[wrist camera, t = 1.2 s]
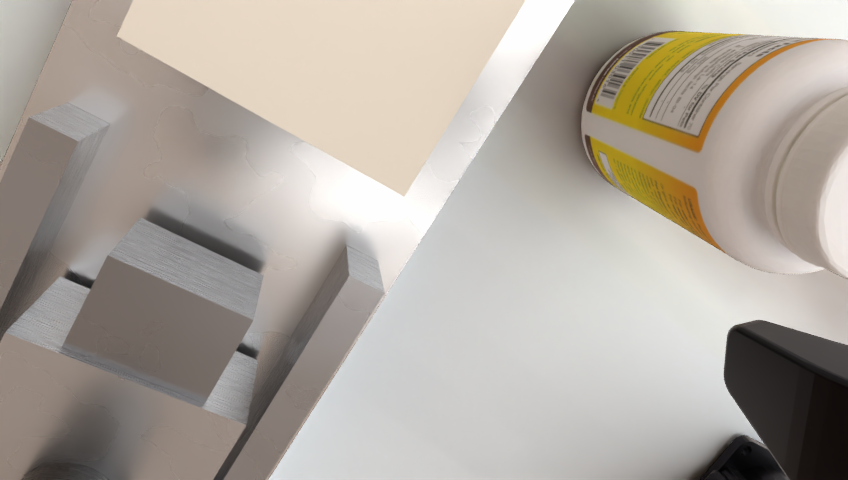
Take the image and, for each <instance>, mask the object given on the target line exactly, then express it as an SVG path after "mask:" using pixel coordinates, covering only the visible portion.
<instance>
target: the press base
mask: <svg viewBox="0 0 848 480" xmlns="http://www.w3.org/2000/svg"><path fill="white" fill-rule="evenodd" d="M574 1H575V0H526V1H525V3H524V4H523V6H522V8H521V9H520V11H519V12H518V14H517V16H516V17H515V19H514V21H513V22H512V24H511V25H510V27H509V29H508V30H507V32H506V33H505V35H504V37H503V38H502V40H501V42H500V43H499V45H498V46H497V48H496V50H495V51H494V53H493V54H492V56H491V58H490V59H489V61H488V62H487V64H486V66H485V67H484V69H483V71H482V72H481V74H480V75H479V77H478V79H477V80H476V82H475V83H474V85H473V87H472V88H471V90H470V92H469V93H468V95H467V96H466V98H465V100H464V101H463V103H462V104H461V106H460V108H459V109H458V111H457V113H456V114H455V116H454V117H453V119H452V121H451V122H450V124H449V125H448V127H447V129H446V130H445V132H444V133H443V135H442V137H441V138H440V140H439V142H438V143H437V145H436V146H435V148H434V150H433V151H432V153H431V154H430V156H429V158H428V159H427V161H426V163H425V164H424V166H423V167H422V169H421V171H420V172H419V174H418V175H417V177H416V179H415V180H414V182H413V184H412V185H411V187H410V188H409V190H408V192H407V193H406V195H405V196H402V195H400V194H398V193H397V192H395V191H393V190H391V189H389V188H388V187H386V186H384V185H382V184H381V183H379V182H377V181H375V180H373V179H372V178H370V177H368V176H366V175H364V174H363V173H361V172H359V171H357V170H355V169H354V168H352V167H350V166H348V165H346V164H345V163H343V162H341V161H339V160H338V159H336V158H334V157H332V156H330V155H329V154H327V153H325V152H323V151H321V150H320V149H318V148H316V147H314V146H312V145H311V144H309V143H307V142H305V141H303V140H302V139H300V138H298V137H296V136H295V135H293V134H291V133H289V132H287V131H286V130H284V129H282V128H280V127H278V126H277V125H275V124H273V123H271V122H269V121H268V120H266V119H264V118H262V117H260V116H259V115H257V114H255V113H253V112H251V111H250V110H248V109H246V108H244V107H243V106H241V105H239V104H237V103H235V102H234V101H232V100H230V99H228V98H226V97H225V96H223V95H221V94H219V93H217V92H216V91H214V90H212V89H210V88H208V87H207V86H205V85H203V84H201V83H200V82H198V81H196V80H194V79H192V78H191V77H189V76H187V75H185V74H183V73H182V72H180V71H178V70H176V69H174V68H173V67H171V66H169V65H167V64H165V63H164V62H162V61H160V60H158V59H157V58H155V57H153V56H151V55H149V54H148V53H146V52H144V51H142V50H140V49H139V48H137V47H135V46H133V45H131V44H130V43H128V42H126V41H124V40H122V39H121V38H119V37H117V34H118V32H119V30H120V28H121V26H122V24H123V21H124V19H125V17H126V15H127V13H128V10H129V8H130V6H131V4H132V2H133V0H72V2H71V5H70V7H69V9H68V12H67V14H66V16H65V18H64V21H63V23H62V25H61V28H60V30H59V32H58V35H57V37H56V39H55V41H54V44H53V46H52V48H51V51H50V53H49V55H48V58H47V60H46V62H45V65H44V67H43V69H42V71H41V74H40V76H39V78H38V81H37V83H36V85H35V88H34V90H33V92H32V94H31V97H30V99H29V101H28V104H27V106H26V108H25V111H24V113H23V115H22V117H21V120H20V122H19V124H18V127H17V129H16V131H15V134H14V136H13V138H12V141H11V143H10V145H9V147H8V150H7V152H6V154H5V157H4V159H3V161H2V164H1V166H0V342H1V340H2V338H3V336H4V334H5V332H6V331H7V330H8V329H9V328H10V327H11V326H12V325H13V324H14V323H15V322H16V321H17V320H18V319H19V318H20V317H21V316H22V315H23V314H24V313H25V312H26V311H27V310H28V309H29V308H30V307H31V305H32V304H33V303H34V302H35V301H36V300H37V299H38V298H39V297H40V296H41V295H42V294H43V293H44V292H45V291H46V290H47V289H48V288H49V287H50V286H51V285H52V284H53V283H54V282H55V281H56V280H57V279H58V278H59V277H63V278H65V279H68V280H70V281H72V282H75V283H77V284H79V285H82V286H84V287H86V288H89V289H91V287H92V285H93V283H94V281H95V279H96V277H97V275H98V273H99V271H100V269H101V267H102V265H103V263H104V261H105V259H106V257H107V255H108V254H109V253H110V252H111V251H112V250H113V248H114V247H115V246H116V245H117V244H118V243H119V242H120V240H121V239H122V238H123V237H124V236H125V235H126V234H127V232H128V231H129V230H130V229H131V228H132V227H133V226H134V224H135V223H136V222H137V221H138V220H139V219H140V217H141V218H143V219H145V220H147V221H149V222H151V223H153V224H155V225H158V226H160V227H162V228H164V229H166V230H168V231H170V232H172V233H174V234H177V235H179V236H181V237H183V238H185V239H187V240H189V241H191V242H194V243H196V244H198V245H200V246H202V247H204V248H206V249H208V250H211V251H213V252H215V253H217V254H219V255H221V256H223V257H225V258H228V259H230V260H232V261H234V262H236V263H238V264H240V265H242V266H245V267H247V268H249V269H251V270H253V271H255V272H257V273H259V274H262V275H264V276H263V281H262V285H261V290H260V294H259V299H258V303H257V308H256V312H255V316H254V320H253V322H252V324H251V326H250V327H249V329H248V331H247V332H246V334H245V336H244V338H243V339H242V341H241V343H240V344H239V346H238V348H237V349H236V351H238V352H240V353H242V354H245V355H247V356H250V357H252V358H254V359H257V360H258V365H257V370H256V376H255V381H254V387H253V392H252V397H251V403H250V408H249V413H248V419H247V424H246V427H245V428H244V430H243V432H242V433H241V435H240V436H239V438H238V440H237V441H236V443H235V445H234V446H233V448H232V450H231V451H230V453H229V454H228V456H227V458H226V459H225V461H224V463H223V464H222V466H221V468H220V469H219V471H218V472H217V474H216V476H215V477H214V479H213V480H268V479H269V478H270V476H271V474H272V473H273V471H274V470H275V468H276V467H277V465H278V464H279V462H280V460H281V459H282V457H283V456H284V454H285V453H286V451H287V449H288V448H289V446H290V445H291V443H292V442H293V440H294V439H295V437H296V435H297V434H298V432H299V431H300V429H301V428H302V426H303V424H304V423H305V421H306V420H307V418H308V417H309V415H310V413H311V412H312V410H313V409H314V407H315V406H316V404H317V403H318V401H319V399H320V398H321V396H322V395H323V393H324V392H325V390H326V388H327V387H328V385H329V384H330V382H331V381H332V379H333V378H334V376H335V374H336V373H337V371H338V370H339V368H340V367H341V365H342V363H343V362H344V360H345V359H346V357H347V356H348V354H349V353H350V351H351V349H352V348H353V346H354V345H355V343H356V342H357V340H358V338H359V337H360V335H361V334H362V332H363V331H364V329H365V327H366V326H367V324H368V323H369V321H370V320H371V318H372V317H373V315H374V313H375V312H376V310H377V309H378V307H379V306H380V304H381V302H382V301H383V299H384V298H385V296H386V295H387V293H388V292H389V290H390V288H391V287H392V285H393V284H394V282H395V281H396V279H397V277H398V276H399V274H400V273H401V271H402V270H403V268H404V266H405V265H406V263H407V262H408V260H409V259H410V257H411V256H412V254H413V252H414V251H415V249H416V248H417V246H418V245H419V243H420V241H421V240H422V238H423V237H424V235H425V234H426V232H427V231H428V229H429V227H430V226H431V224H432V223H433V221H434V220H435V218H436V216H437V215H438V213H439V212H440V210H441V209H442V207H443V206H444V204H445V202H446V201H447V199H448V198H449V196H450V195H451V193H452V191H453V190H454V188H455V187H456V185H457V184H458V182H459V180H460V179H461V177H462V176H463V174H464V173H465V171H466V170H467V168H468V166H469V165H470V163H471V162H472V160H473V159H474V157H475V155H476V154H477V152H478V151H479V149H480V148H481V146H482V145H483V143H484V141H485V140H486V138H487V137H488V135H489V134H490V132H491V130H492V129H493V127H494V126H495V124H496V123H497V121H498V120H499V118H500V116H501V115H502V113H503V112H504V110H505V109H506V107H507V105H508V104H509V102H510V101H511V99H512V98H513V96H514V94H515V93H516V91H517V90H518V88H519V87H520V85H521V84H522V82H523V80H524V79H525V77H526V76H527V74H528V73H529V71H530V69H531V68H532V66H533V65H534V63H535V62H536V60H537V59H538V57H539V55H540V54H541V52H542V51H543V49H544V48H545V46H546V44H547V43H548V41H549V40H550V38H551V37H552V35H553V34H554V32H555V30H556V29H557V27H558V26H559V24H560V23H561V21H562V19H563V18H564V16H565V15H566V13H567V12H568V10H569V8H570V7H571V5H572V4H573V2H574Z"/></svg>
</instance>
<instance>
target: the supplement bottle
mask: <svg viewBox="0 0 848 480" xmlns="http://www.w3.org/2000/svg"><path fill="white" fill-rule="evenodd" d="M581 130H582V139H583V144H584V147H585V150H586V153H587V155H588V158H589V160H590V162H591V163H592V165H593V166H594V168H595V169H596V171H597V172H598V173H599V174H600V175H601V176H602V177H603V178H604V179H605V180H606V181H607V182H609V183H610V184H611V185H613V186H614V187H616V188H617V189H619V190H621V191H622V192H624V193H626V194H627V195H629V196H631V197H633V198H634V199H636V200H638V201H639V202H641V203H643V204H644V205H646V206H648V207H649V208H651V209H653V210H654V211H656V212H658V213H659V214H661V215H663V216H664V217H666V218H668V219H669V220H671V221H673V222H674V223H676V224H678V225H679V226H681V227H683V228H684V229H686V230H688V231H689V232H691V233H693V234H694V235H696V236H698V237H700V238H701V239H703V240H704V241H706V242H708V243H709V244H711V245H713V246H714V247H716V248H718V249H719V250H721V251H723V252H724V253H726V254H727V255H729V256H731V257H732V258H734V259H736V260H737V261H740V262H741V263H743V264H745V265H747V266H750V267H752V268H754V269H757V270H761V271H764V272H768V273H774V274H788V275H793V274H806V273H811V272H816V271H820V270H824V269H827V270H829V271H831V272H833V273H835V274H837V275H839V276H841V277H843V278H846V279H848V41H847V40H841V39H819V38H798V37H779V36H762V35H744V34H722V33H703V32H685V31H668V32H659V33H654V34H650V35H647V36H644V37H641V38H639V39H637V40H635V41H633V42H631V43H629V44H627V45H626V46H624V47H623V48H621V49H620V50H619V51H618V52H616V53H615V54H614V55H613V56H612V57H611V58H610V59H609V60H608V61H607V62H606V63H605V64H604V65H603V67H602V68H601V69H600V71H599V72H598V73H597V75H596V76H595V78H594V80H593V82H592V84H591V86H590V88H589V90H588V93H587V95H586V98H585V102H584V106H583V111H582V120H581Z"/></svg>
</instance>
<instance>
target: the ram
mask: <svg viewBox="0 0 848 480" xmlns="http://www.w3.org/2000/svg"><path fill="white" fill-rule="evenodd" d="M263 276H264V275H262V274H259V273H257V272H255V271H253V270H251V269H249V268H247V267H245V266H242V265H240V264H238V263H236V262H234V261H232V260H230V259H228V258H225V257H223V256H221V255H219V254H217V253H215V252H213V251H211V250H208V249H206V248H204V247H202V246H200V245H198V244H196V243H194V242H191V241H189V240H187V239H185V238H183V237H181V236H179V235H177V234H174V233H172V232H170V231H168V230H166V229H164V228H162V227H160V226H158V225H155V224H153V223H151V222H149V221H147V220H145V219H143V218H141V217H140V219H139V220H138V221H137V222H136V223H135V224H134V226H133V227H132V228H131V229H130V230H129V231H128V232H127V234H126V235H125V236H124V237H123V238H122V239H121V240H120V242H119V243H118V244H117V245H116V246H115V247H114V248H113V250H112V251H111V252H110V253H109V254H108V255H107V257H106V259H105V261H104V263H103V265H102V267H101V269H100V271H99V273H98V275H97V277H96V279H95V281H94V283H93V285H92V287H91V289H89V288H86V287H84V286H82V285H79V284H77V283H75V282H72V281H70V280H68V279H65V278H63V277H59V278H58V279H57V280H56V281H55V282H54V283H53V284H52V285H51V286H50V287H49V288H48V289H47V290H46V291H45V292H44V293H43V294H42V295H41V296H40V297H39V298H38V299H37V300H36V301H35V302H34V303H33V304H32V305H31V307H30V308H29V309H28V310H27V311H26V312H25V313H24V314H23V315H22V316H21V317H20V318H19V319H18V320H17V321H16V322H15V323H14V324H13V325H12V326H11V327H10V328H9V329H8V330H7V331H6V332H5V334H4V336H3V338H2V340H1V342H0V480H213V479H214V477H215V476H216V474H217V472H218V471H219V469H220V468H221V466H222V464H223V463H224V461H225V459H226V458H227V456H228V454H229V453H230V451H231V450H232V448H233V446H234V445H235V443H236V441H237V440H238V438H239V436H240V435H241V433H242V432H243V430H244V428H245V427H246V424H247V419H248V413H249V408H250V403H251V397H252V392H253V387H254V381H255V376H256V370H257V365H258V360H257V359H254V358H252V357H250V356H247V355H245V354H242V353H240V352H238V351H236V349H237V348H238V346H239V344H240V343H241V341H242V339H243V338H244V336H245V334H246V332H247V331H248V329H249V327H250V326H251V324H252V322H253V320H254V316H255V312H256V308H257V303H258V299H259V294H260V290H261V285H262V281H263Z"/></svg>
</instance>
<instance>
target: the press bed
mask: <svg viewBox="0 0 848 480" xmlns="http://www.w3.org/2000/svg"><path fill="white" fill-rule="evenodd" d="M525 1H526V0H133V2H132V4H131V6H130V8H129V10H128V13H127V15H126V17H125V19H124V21H123V24H122V26H121V28H120V30H119V32H118V34H117V37H119V38H121V39H122V40H124V41H126V42H128V43H130V44H131V45H133V46H135V47H137V48H139V49H140V50H142V51H144V52H146V53H148V54H149V55H151V56H153V57H155V58H157V59H158V60H160V61H162V62H164V63H165V64H167V65H169V66H171V67H173V68H174V69H176V70H178V71H180V72H182V73H183V74H185V75H187V76H189V77H191V78H192V79H194V80H196V81H198V82H200V83H201V84H203V85H205V86H207V87H208V88H210V89H212V90H214V91H216V92H217V93H219V94H221V95H223V96H225V97H226V98H228V99H230V100H232V101H234V102H235V103H237V104H239V105H241V106H243V107H244V108H246V109H248V110H250V111H251V112H253V113H255V114H257V115H259V116H260V117H262V118H264V119H266V120H268V121H269V122H271V123H273V124H275V125H277V126H278V127H280V128H282V129H284V130H286V131H287V132H289V133H291V134H293V135H295V136H296V137H298V138H300V139H302V140H303V141H305V142H307V143H309V144H311V145H312V146H314V147H316V148H318V149H320V150H321V151H323V152H325V153H327V154H329V155H330V156H332V157H334V158H336V159H338V160H339V161H341V162H343V163H345V164H346V165H348V166H350V167H352V168H354V169H355V170H357V171H359V172H361V173H363V174H364V175H366V176H368V177H370V178H372V179H373V180H375V181H377V182H379V183H381V184H382V185H384V186H386V187H388V188H389V189H391V190H393V191H395V192H397V193H398V194H400V195H402V196H405V195H406V193H407V192H408V190H409V188H410V187H411V185H412V184H413V182H414V180H415V179H416V177H417V175H418V174H419V172H420V171H421V169H422V167H423V166H424V164H425V163H426V161H427V159H428V158H429V156H430V154H431V153H432V151H433V150H434V148H435V146H436V145H437V143H438V142H439V140H440V138H441V137H442V135H443V133H444V132H445V130H446V129H447V127H448V125H449V124H450V122H451V121H452V119H453V117H454V116H455V114H456V113H457V111H458V109H459V108H460V106H461V104H462V103H463V101H464V100H465V98H466V96H467V95H468V93H469V92H470V90H471V88H472V87H473V85H474V83H475V82H476V80H477V79H478V77H479V75H480V74H481V72H482V71H483V69H484V67H485V66H486V64H487V62H488V61H489V59H490V58H491V56H492V54H493V53H494V51H495V50H496V48H497V46H498V45H499V43H500V42H501V40H502V38H503V37H504V35H505V33H506V32H507V30H508V29H509V27H510V25H511V24H512V22H513V21H514V19H515V17H516V16H517V14H518V12H519V11H520V9H521V8H522V6H523V4H524V3H525Z"/></svg>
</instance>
